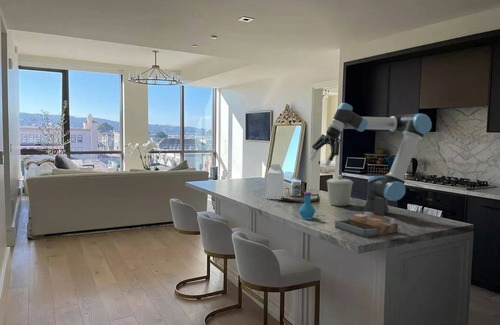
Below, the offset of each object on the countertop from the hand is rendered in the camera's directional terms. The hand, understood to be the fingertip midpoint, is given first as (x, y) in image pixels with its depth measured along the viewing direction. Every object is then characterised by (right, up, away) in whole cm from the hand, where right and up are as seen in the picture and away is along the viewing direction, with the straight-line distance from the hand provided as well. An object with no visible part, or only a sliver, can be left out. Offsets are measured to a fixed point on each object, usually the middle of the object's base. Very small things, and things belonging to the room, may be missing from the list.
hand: (318, 162), depth 214 cm
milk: (-20, -27, +71) cm, 79 cm away
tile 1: (+20, -30, -13) cm, 38 cm away
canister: (+23, -29, +49) cm, 62 cm away
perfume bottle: (-5, -32, +7) cm, 34 cm away
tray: (+15, -35, -22) cm, 43 cm away
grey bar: (+29, -30, -14) cm, 44 cm away
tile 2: (+24, -31, -22) cm, 45 cm away
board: (+25, -34, -16) cm, 45 cm away
